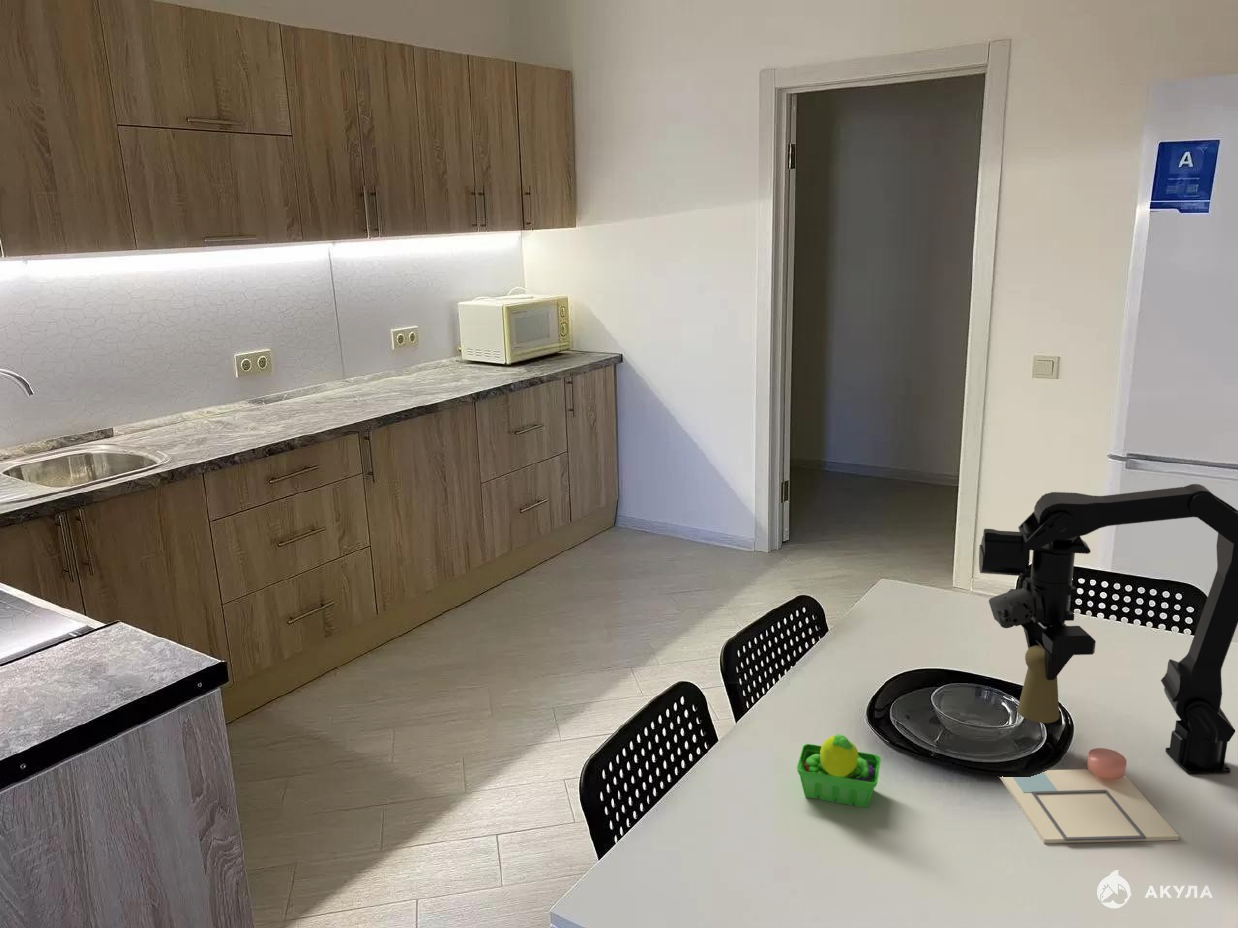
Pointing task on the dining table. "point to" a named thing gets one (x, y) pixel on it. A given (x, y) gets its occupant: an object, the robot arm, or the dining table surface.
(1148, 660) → the dining table surface
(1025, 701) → the cork
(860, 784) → the fruit basket
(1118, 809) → the colouring board
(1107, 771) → the button
